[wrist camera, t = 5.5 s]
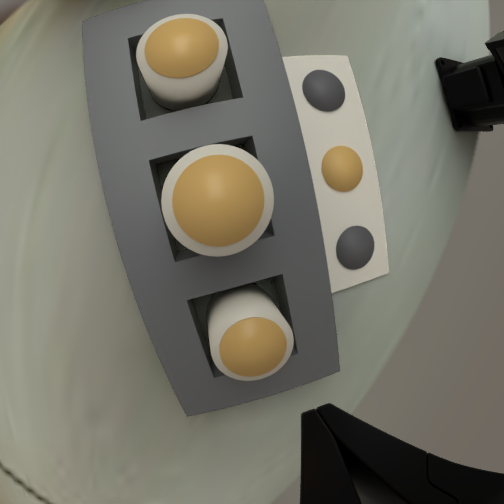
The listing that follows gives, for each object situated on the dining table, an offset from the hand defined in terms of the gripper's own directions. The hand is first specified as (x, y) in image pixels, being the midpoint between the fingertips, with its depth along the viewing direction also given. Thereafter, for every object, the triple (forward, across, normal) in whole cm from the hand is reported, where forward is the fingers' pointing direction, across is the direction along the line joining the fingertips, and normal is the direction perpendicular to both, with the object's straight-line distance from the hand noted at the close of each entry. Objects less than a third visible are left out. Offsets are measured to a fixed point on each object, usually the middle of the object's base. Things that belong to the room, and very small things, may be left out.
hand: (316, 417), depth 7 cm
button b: (+9, +1, -6) cm, 11 cm away
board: (+11, +1, -6) cm, 12 cm away
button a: (+11, +1, -13) cm, 17 cm away
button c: (+11, +1, +1) cm, 11 cm away
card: (+11, -7, -6) cm, 14 cm away
